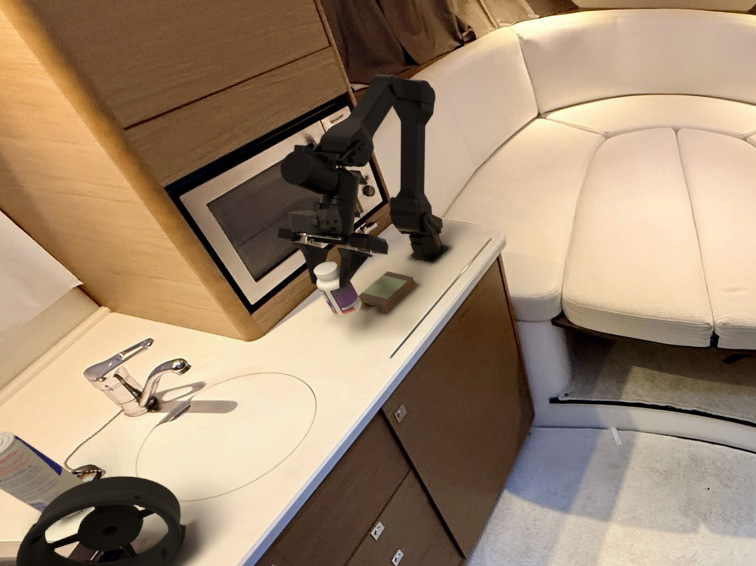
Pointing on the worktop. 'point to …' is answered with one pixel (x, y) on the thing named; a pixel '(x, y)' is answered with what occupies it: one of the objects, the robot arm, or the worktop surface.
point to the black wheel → (107, 523)
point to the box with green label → (387, 291)
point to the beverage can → (31, 473)
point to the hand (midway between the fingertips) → (328, 286)
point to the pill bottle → (336, 290)
